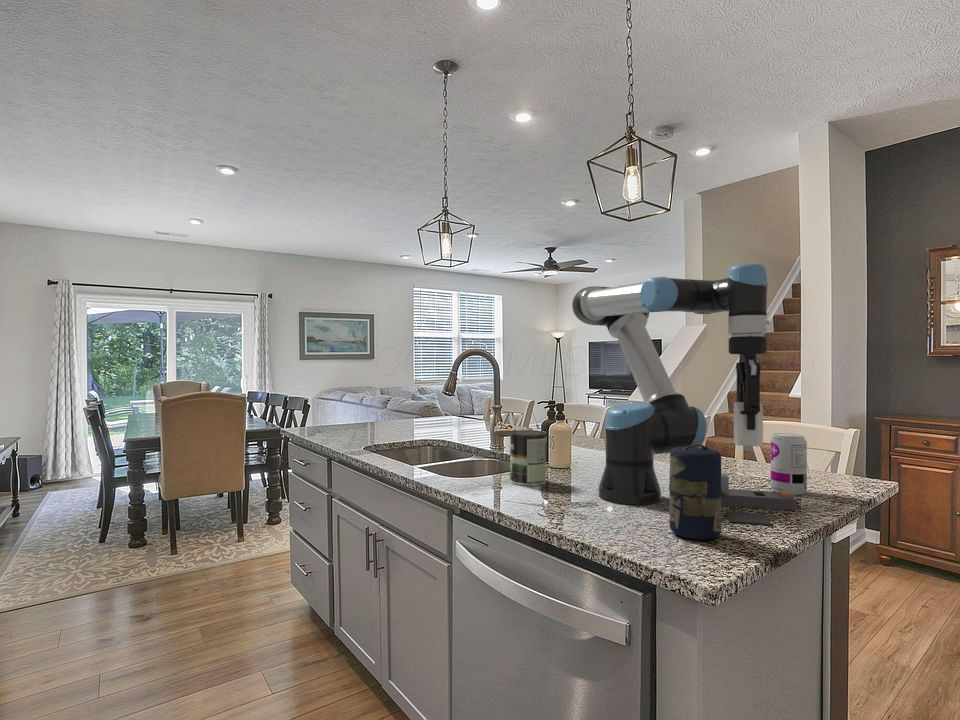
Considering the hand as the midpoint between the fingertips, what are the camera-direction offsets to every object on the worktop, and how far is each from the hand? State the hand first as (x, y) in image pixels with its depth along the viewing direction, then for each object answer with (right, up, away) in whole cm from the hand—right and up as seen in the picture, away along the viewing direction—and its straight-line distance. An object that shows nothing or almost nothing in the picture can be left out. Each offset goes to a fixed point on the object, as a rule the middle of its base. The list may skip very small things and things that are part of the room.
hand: (747, 442), depth 117 cm
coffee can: (-45, -17, +36) cm, 60 cm away
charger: (0, -2, 0) cm, 2 cm away
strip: (+2, -17, +12) cm, 21 cm away
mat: (0, -17, 0) cm, 17 cm away
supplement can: (+23, -17, +24) cm, 37 cm away
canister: (-16, -17, -11) cm, 26 cm away
